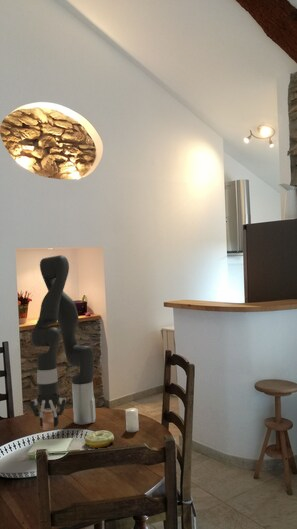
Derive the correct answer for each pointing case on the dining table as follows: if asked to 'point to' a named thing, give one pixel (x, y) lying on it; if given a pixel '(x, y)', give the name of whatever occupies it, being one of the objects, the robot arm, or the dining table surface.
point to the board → (51, 445)
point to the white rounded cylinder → (132, 420)
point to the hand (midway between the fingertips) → (49, 426)
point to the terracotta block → (48, 420)
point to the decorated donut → (99, 439)
